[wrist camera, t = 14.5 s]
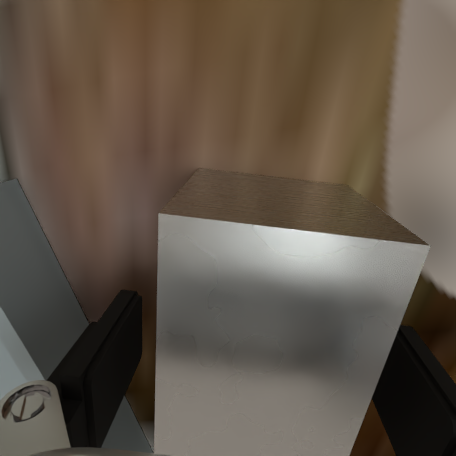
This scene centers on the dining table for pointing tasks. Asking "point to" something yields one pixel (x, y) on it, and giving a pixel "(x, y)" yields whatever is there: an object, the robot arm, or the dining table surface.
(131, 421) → the tray
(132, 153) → the dining table surface
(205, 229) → the silver metal block
